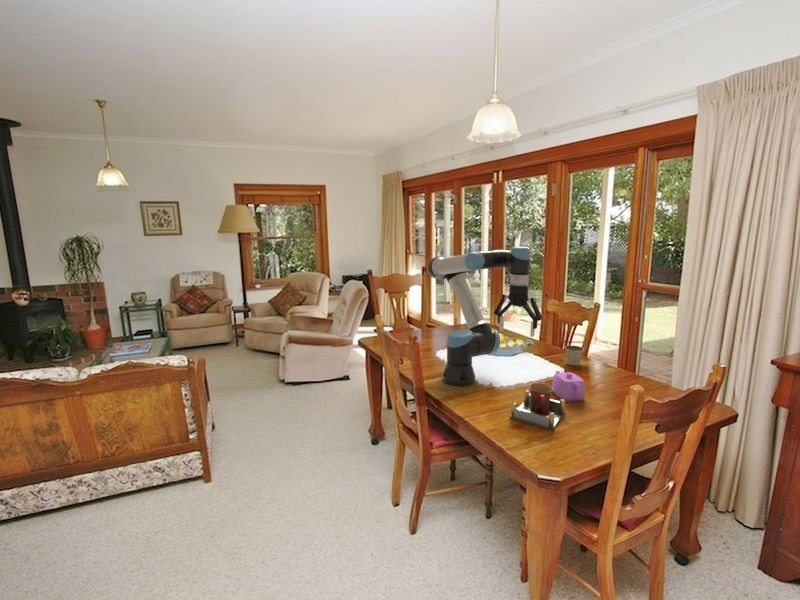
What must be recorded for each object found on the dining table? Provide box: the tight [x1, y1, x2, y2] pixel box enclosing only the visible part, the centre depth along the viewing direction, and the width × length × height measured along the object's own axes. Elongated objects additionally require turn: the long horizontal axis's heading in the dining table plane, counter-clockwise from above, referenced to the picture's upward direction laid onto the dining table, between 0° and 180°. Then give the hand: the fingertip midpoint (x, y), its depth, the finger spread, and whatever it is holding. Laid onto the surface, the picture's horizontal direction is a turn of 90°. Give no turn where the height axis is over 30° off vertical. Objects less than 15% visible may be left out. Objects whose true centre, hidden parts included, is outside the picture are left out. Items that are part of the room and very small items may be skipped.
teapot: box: [551, 370, 586, 402], centre depth 176 cm, size 18×10×10 cm, turn 8°
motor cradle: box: [509, 389, 566, 431], centre depth 158 cm, size 16×16×6 cm
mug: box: [528, 382, 553, 415], centre depth 157 cm, size 12×9×10 cm
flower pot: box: [564, 344, 585, 367], centre depth 213 cm, size 9×9×9 cm
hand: (516, 333), depth 176 cm, fingers open, 13 cm apart
